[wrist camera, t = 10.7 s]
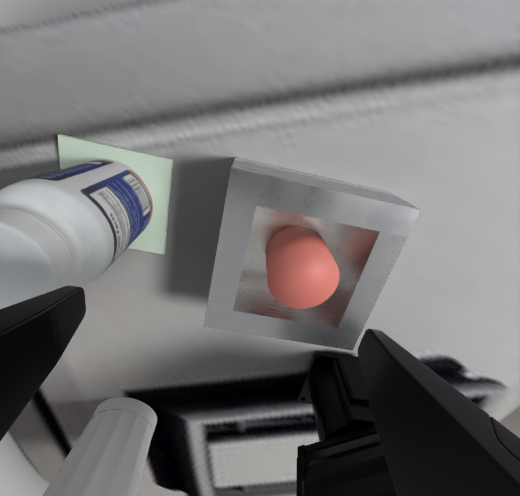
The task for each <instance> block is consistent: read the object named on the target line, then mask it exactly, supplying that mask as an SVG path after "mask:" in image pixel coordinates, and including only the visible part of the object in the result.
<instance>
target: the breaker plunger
mask: <svg viewBox="0 0 520 496" xmlns="http://www.w3.org/2000/svg"><path fill="white" fill-rule="evenodd" d="M266 270H267V283H268V288H269V290H270V293H271V294H272V296H273V297H274V298H275V299H276V300H277V301H278V302H280V303H281V304H283V305H285V306H287V307H291V308H296V309H305V308H311V307H314V306H317V305H319V304H321V303H323V302H324V301H326V300H327V299H328V298H329V297H330V296H331V295H332V294H333V293H334V291H335V290H336V288H337V286H338V283H339V269H338V266H337V264H336V262H335V260H334V258H333V256H332V254H331V253H330V251H329V249H328V247H327V245H326V243H325V242H324V240H323V238H322V237H321V236H320V235H319V234H318V233H317V232H315V231H314V230H312V229H309V228H306V227H290V228H287V229H284V230H282V231H280V232H279V233H277V234H276V235H275V236H274V237H273V238H272V239H271V241H270V242H269V244H268V246H267V249H266Z"/></svg>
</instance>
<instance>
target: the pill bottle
mask: <svg viewBox="0 0 520 496" xmlns="http://www.w3.org/2000/svg"><path fill="white" fill-rule="evenodd" d="M153 214H154V198H153V194H152V191H151V189H150V187H149V185H148V184H147V182H146V181H145V179H144V178H143V177H142V176H141V175H140V174H139V173H138V172H137V171H136V170H134V169H133V168H131V167H129V166H127V165H125V164H123V163H121V162H118V161H113V160H95V161H90V162H86V163H82V164H80V165H76V166H73V167H69V168H65V169H62V170H58V171H54V172H51V173H47V174H44V175H39V176H37V177H33V178H30V179H25V180H22V181H19V182H17V183H14V184H11V185H9V186H7V187H5V188H3V189H1V190H0V309H2V308H5V307H8V306H11V305H14V304H16V303H19V302H22V301H25V300H28V299H30V298H33V297H36V296H39V295H42V294H44V293H47V292H50V291H53V290H56V289H58V288H61V287H64V286H67V285H71V286H78V287H82V286H84V285H87V284H89V283H91V282H92V281H94V280H95V279H97V278H98V277H99V276H100V275H101V274H103V273H104V272H105V270H107V268H108V267H109V266H110V265H111V264H112V263H113V262H114V261H115V260H116V259H117V258H118V257H119V256H120V255H121V254H122V253H123V252H124V251H125V250H126V248H127V247H128V246H129V245H130V244H131V243H132V242H133V241H134V240H135V239H136V238H137V237H138V236H139V235H140V234H141V233H142V232H143V231H144V230H145V228H146V227H147V226H148V225H149V223H150V221H151V220H152V217H153Z"/></svg>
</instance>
